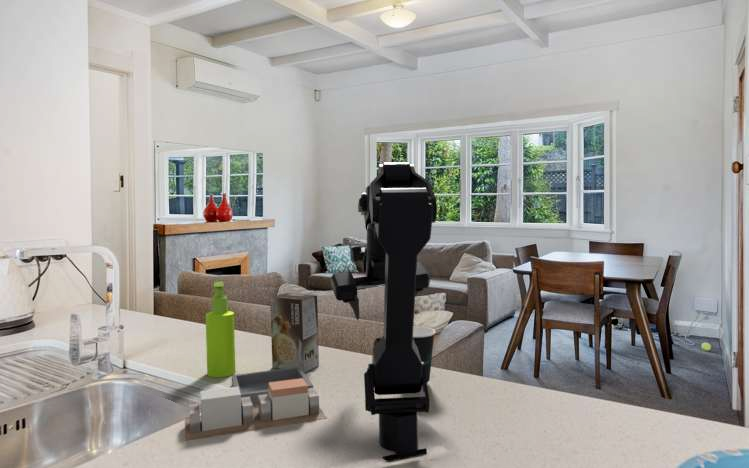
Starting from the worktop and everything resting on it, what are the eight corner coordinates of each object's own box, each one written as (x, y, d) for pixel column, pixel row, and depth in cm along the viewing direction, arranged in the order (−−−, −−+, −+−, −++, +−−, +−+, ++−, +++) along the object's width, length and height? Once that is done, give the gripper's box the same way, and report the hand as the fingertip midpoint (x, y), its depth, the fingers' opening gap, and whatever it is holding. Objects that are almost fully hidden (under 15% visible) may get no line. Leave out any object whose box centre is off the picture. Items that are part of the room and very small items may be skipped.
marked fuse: (308, 414, 87) (308, 385, 87) (272, 420, 85) (272, 390, 85) (303, 406, 91) (303, 378, 91) (269, 411, 89) (268, 382, 89)
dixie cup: (438, 391, 100) (438, 335, 100) (397, 392, 100) (396, 335, 99) (433, 377, 108) (432, 325, 108) (395, 378, 108) (394, 326, 107)
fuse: (241, 424, 83) (240, 394, 83) (202, 431, 81) (201, 399, 81) (239, 415, 87) (238, 386, 87) (201, 421, 85) (200, 391, 85)
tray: (313, 401, 96) (313, 385, 96) (237, 412, 91) (237, 395, 91) (300, 381, 107) (299, 366, 107) (231, 390, 102) (231, 375, 102)
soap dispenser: (206, 380, 108) (203, 285, 107) (207, 370, 115) (205, 280, 114) (235, 377, 110) (233, 283, 109) (235, 367, 116) (233, 279, 115)
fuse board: (327, 424, 86) (326, 400, 86) (185, 446, 78) (184, 421, 78) (314, 404, 94) (313, 382, 94) (185, 423, 87) (184, 400, 86)
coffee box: (320, 365, 118) (319, 294, 117) (304, 373, 112) (302, 299, 111) (287, 360, 122) (286, 292, 121) (270, 367, 116) (268, 296, 115)
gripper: (413, 223, 107) (409, 286, 114) (324, 234, 102) (325, 298, 110) (433, 250, 97) (427, 317, 105) (336, 263, 93) (337, 332, 100)
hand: (379, 314), depth 105 cm, fingers open, 9 cm apart
